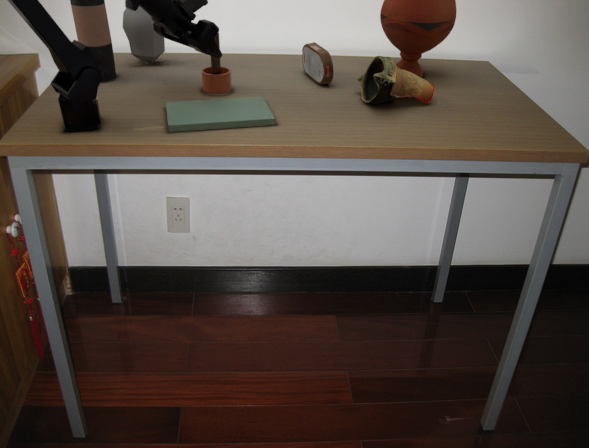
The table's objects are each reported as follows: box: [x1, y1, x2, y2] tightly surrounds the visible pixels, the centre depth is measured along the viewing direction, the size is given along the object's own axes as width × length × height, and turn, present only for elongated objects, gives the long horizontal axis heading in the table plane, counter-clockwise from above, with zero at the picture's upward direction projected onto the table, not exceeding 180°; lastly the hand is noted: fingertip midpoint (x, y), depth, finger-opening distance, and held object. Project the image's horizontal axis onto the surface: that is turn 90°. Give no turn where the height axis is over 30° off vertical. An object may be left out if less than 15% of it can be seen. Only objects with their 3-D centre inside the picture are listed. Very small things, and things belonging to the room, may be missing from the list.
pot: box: [356, 55, 435, 105], centre depth 116 cm, size 17×11×18 cm
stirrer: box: [210, 31, 222, 75], centre depth 117 cm, size 3×3×13 cm
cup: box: [200, 65, 233, 95], centre depth 119 cm, size 7×7×5 cm
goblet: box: [379, 0, 457, 78], centre depth 130 cm, size 19×19×25 cm
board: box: [165, 96, 276, 133], centre depth 107 cm, size 22×13×2 cm, turn 104°
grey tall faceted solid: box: [122, 6, 166, 65], centre depth 128 cm, size 11×11×30 cm
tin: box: [301, 42, 334, 85], centre depth 128 cm, size 15×3×8 cm, turn 22°
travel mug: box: [69, 0, 117, 83], centre depth 120 cm, size 8×8×20 cm
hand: (209, 52), depth 114 cm, fingers open, 9 cm apart
